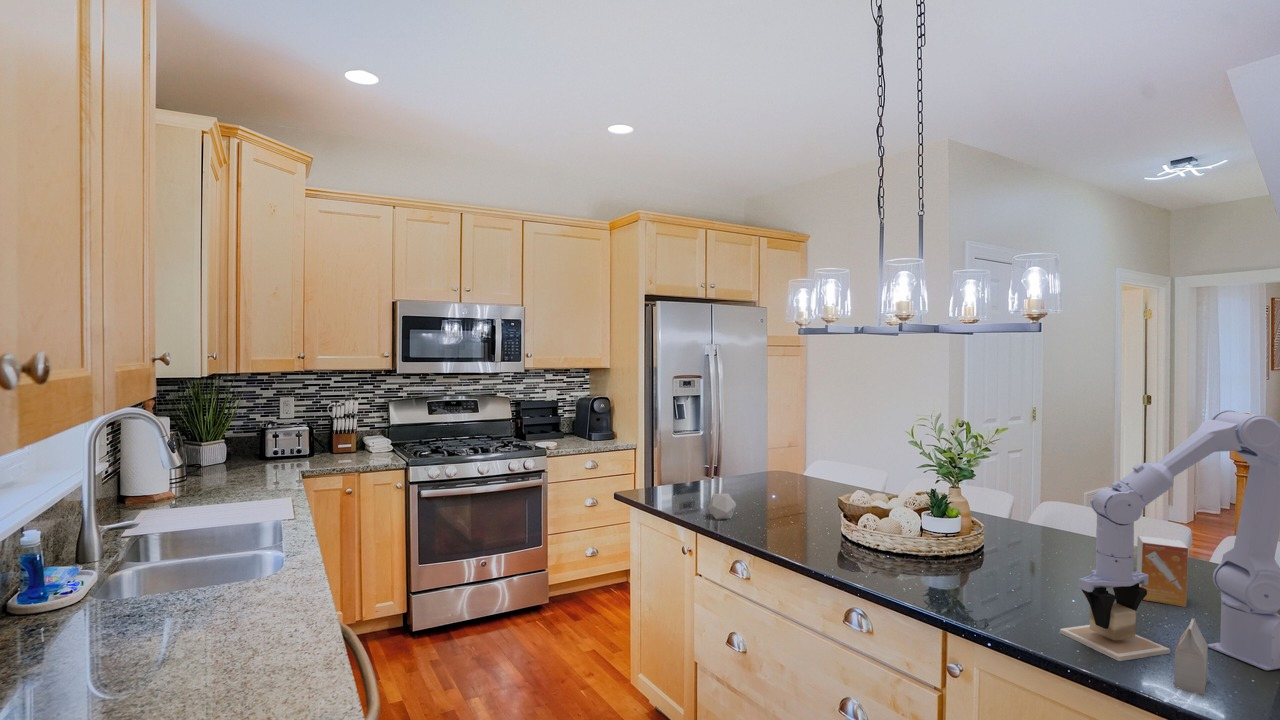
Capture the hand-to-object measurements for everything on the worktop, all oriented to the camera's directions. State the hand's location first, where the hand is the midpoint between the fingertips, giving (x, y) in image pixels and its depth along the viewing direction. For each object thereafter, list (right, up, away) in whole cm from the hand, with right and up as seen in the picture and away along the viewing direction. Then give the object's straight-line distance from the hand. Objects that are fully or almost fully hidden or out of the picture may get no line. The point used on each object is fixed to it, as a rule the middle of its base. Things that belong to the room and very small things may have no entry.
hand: (1113, 624), depth 124 cm
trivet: (0, -3, 0) cm, 3 cm away
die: (-63, -2, +90) cm, 110 cm away
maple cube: (0, -2, 0) cm, 2 cm away
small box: (+26, -3, +22) cm, 34 cm away
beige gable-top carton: (+2, -4, -15) cm, 15 cm away
